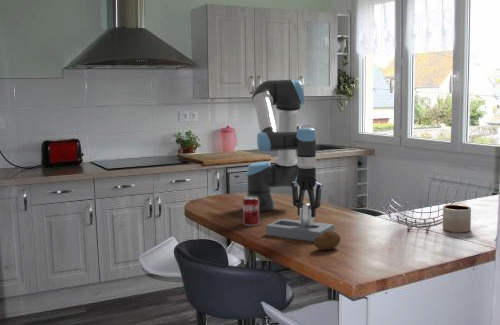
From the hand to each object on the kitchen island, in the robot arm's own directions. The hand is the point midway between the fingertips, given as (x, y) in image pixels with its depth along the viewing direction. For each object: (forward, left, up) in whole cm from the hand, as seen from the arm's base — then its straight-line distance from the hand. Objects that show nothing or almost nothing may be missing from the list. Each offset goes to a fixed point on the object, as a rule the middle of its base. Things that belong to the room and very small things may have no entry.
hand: (306, 224), depth 221 cm
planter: (-36, +51, -5) cm, 63 cm away
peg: (0, 0, -5) cm, 5 cm away
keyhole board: (0, -3, -5) cm, 6 cm away
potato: (+14, +15, -5) cm, 21 cm away
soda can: (-6, -30, -5) cm, 31 cm away
